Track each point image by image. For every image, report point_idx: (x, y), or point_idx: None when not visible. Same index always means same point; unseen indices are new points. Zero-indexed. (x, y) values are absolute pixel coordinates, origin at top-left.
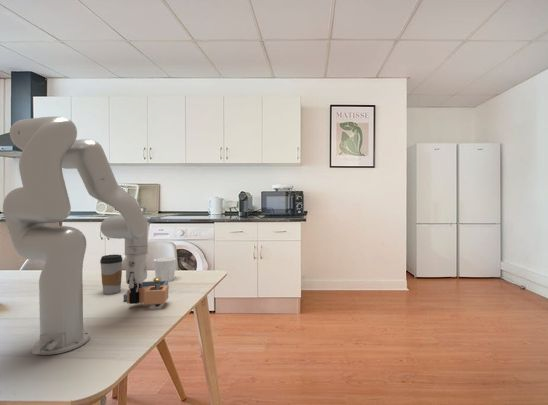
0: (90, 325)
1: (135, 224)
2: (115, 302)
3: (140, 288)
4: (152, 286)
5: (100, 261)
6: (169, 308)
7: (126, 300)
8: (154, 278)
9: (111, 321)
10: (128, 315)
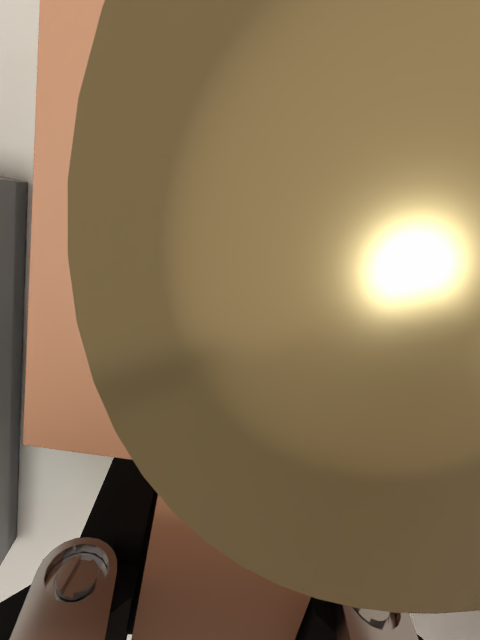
0: (459, 623)
1: None
2: (19, 588)
3: (186, 574)
4: (71, 358)
5: None
6: None
7: (10, 527)
8: (348, 561)
9: None
10: None
